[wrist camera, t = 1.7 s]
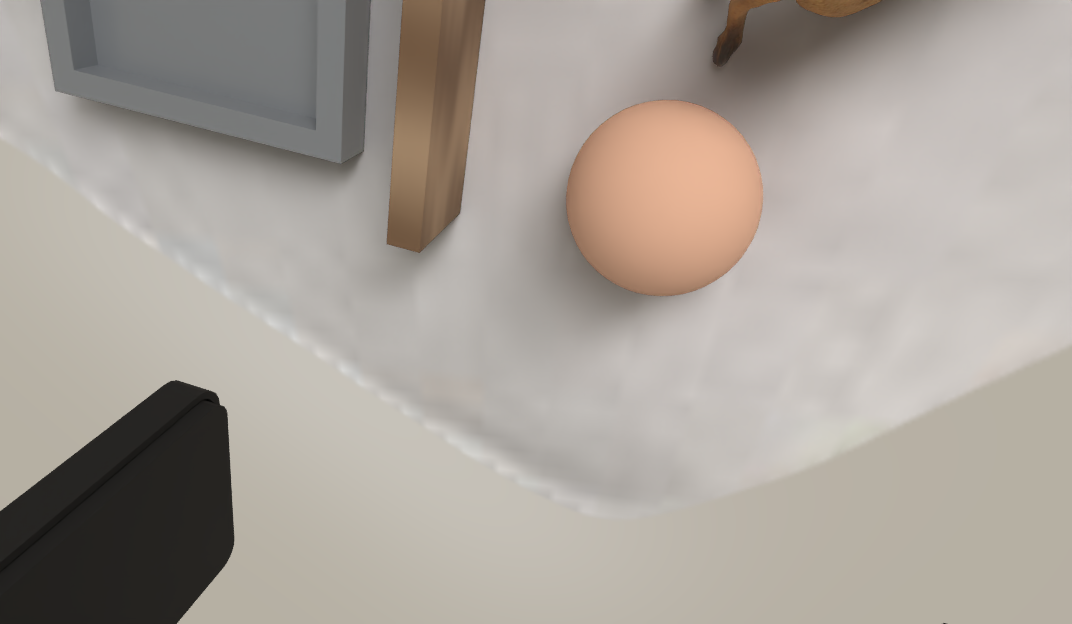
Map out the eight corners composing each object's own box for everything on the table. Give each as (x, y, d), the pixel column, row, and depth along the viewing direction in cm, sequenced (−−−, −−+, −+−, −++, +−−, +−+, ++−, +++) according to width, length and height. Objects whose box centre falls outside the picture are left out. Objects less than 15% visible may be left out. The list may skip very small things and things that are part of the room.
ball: (605, 65, 25) (566, 102, 19) (787, 105, 24) (795, 156, 19) (572, 229, 28) (530, 299, 22) (732, 270, 27) (726, 353, 22)
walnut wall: (469, -197, 22) (417, -219, 19) (507, -190, 22) (461, -211, 18) (430, 205, 29) (386, 244, 25) (459, 213, 28) (419, 252, 25)
